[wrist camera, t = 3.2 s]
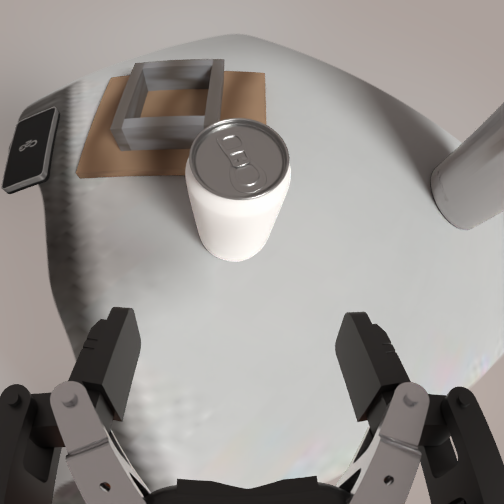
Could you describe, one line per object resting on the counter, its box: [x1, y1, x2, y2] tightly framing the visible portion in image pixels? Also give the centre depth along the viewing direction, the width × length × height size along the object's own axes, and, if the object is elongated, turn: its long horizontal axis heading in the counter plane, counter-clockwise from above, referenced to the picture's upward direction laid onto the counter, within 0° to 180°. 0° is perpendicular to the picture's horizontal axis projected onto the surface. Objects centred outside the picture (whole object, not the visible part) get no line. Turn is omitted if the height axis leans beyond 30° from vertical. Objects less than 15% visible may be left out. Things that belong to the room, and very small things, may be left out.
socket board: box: [76, 59, 266, 178], centre depth 28 cm, size 20×15×5 cm
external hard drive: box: [2, 107, 60, 194], centre depth 28 cm, size 7×11×2 cm, turn 12°
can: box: [185, 118, 291, 261], centre depth 22 cm, size 6×6×12 cm
